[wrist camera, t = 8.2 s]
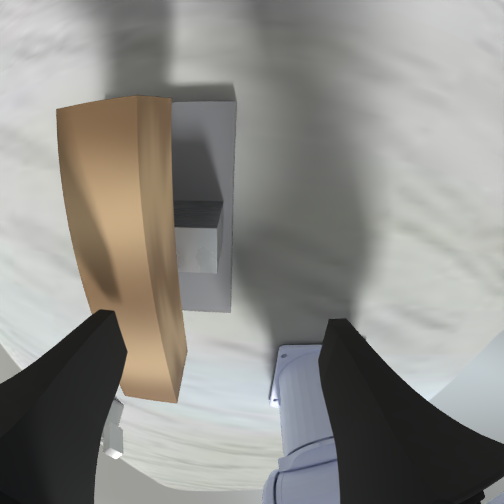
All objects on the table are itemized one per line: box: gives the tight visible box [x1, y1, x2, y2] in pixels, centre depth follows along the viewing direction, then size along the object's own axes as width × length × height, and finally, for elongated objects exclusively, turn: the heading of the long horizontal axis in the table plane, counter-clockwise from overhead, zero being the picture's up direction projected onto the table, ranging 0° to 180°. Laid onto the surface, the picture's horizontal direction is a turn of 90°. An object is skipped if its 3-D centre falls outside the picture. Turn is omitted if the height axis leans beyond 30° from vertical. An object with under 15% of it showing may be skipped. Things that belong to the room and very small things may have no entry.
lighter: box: [100, 399, 124, 459], centre depth 25 cm, size 7×2×8 cm, turn 129°
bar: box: [56, 95, 187, 403], centre depth 12 cm, size 14×3×4 cm, turn 177°
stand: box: [171, 101, 237, 313], centre depth 16 cm, size 14×8×5 cm, turn 177°
